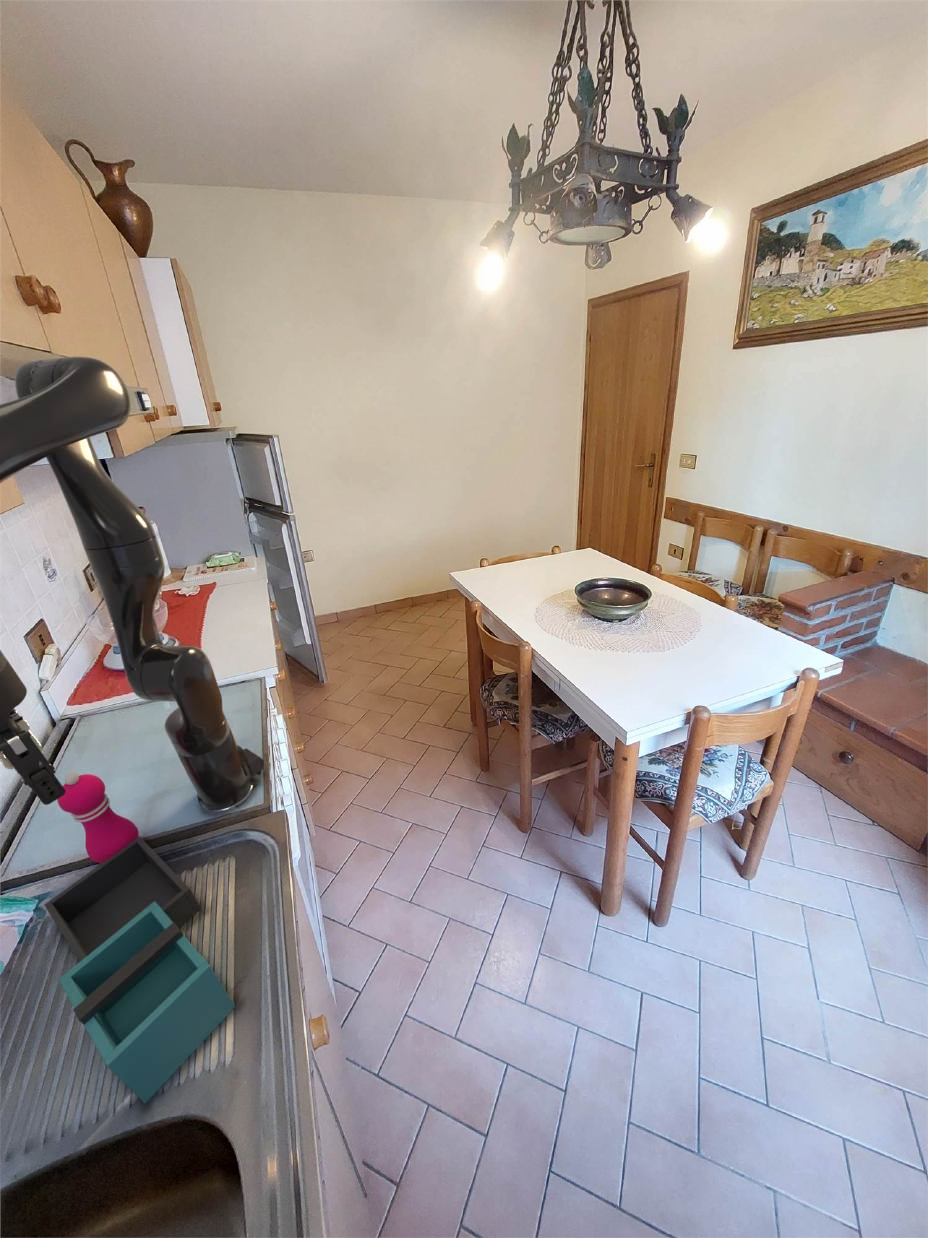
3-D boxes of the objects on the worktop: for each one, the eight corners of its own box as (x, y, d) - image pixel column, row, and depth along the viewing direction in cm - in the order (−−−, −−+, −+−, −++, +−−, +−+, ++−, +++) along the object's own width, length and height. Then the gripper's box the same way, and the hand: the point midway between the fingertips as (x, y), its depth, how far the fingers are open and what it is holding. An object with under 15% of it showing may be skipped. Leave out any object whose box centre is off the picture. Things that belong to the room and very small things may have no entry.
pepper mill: (125, 880, 81) (67, 795, 72) (89, 874, 83) (28, 791, 73) (157, 841, 87) (107, 759, 78) (123, 837, 89) (70, 755, 79)
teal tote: (181, 941, 72) (151, 895, 66) (235, 1006, 64) (206, 960, 58) (95, 1019, 64) (53, 974, 58) (145, 1104, 56) (101, 1061, 51)
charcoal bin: (153, 858, 84) (139, 836, 82) (203, 911, 75) (189, 888, 73) (62, 927, 75) (43, 904, 72) (107, 997, 66) (87, 974, 63)
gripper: (26, 674, 49) (101, 786, 58) (-16, 639, 57) (55, 742, 65) (-72, 719, 44) (25, 834, 52) (-104, 674, 52) (-15, 781, 60)
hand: (42, 783), depth 59 cm, fingers open, 8 cm apart
